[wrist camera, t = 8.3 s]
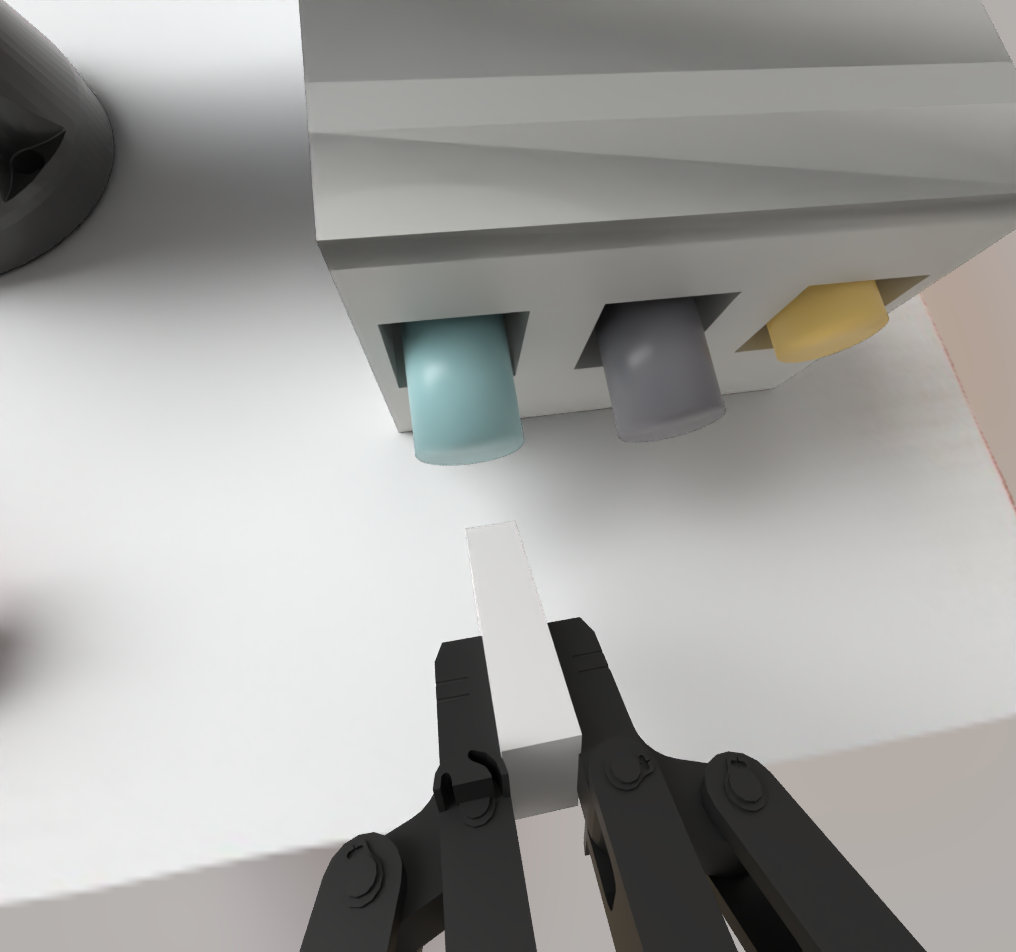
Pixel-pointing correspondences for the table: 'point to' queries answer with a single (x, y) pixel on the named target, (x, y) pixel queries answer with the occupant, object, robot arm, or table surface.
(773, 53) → the console
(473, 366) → the teal button
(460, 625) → the table surface
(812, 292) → the amber button
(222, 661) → the table surface
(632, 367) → the charcoal button
